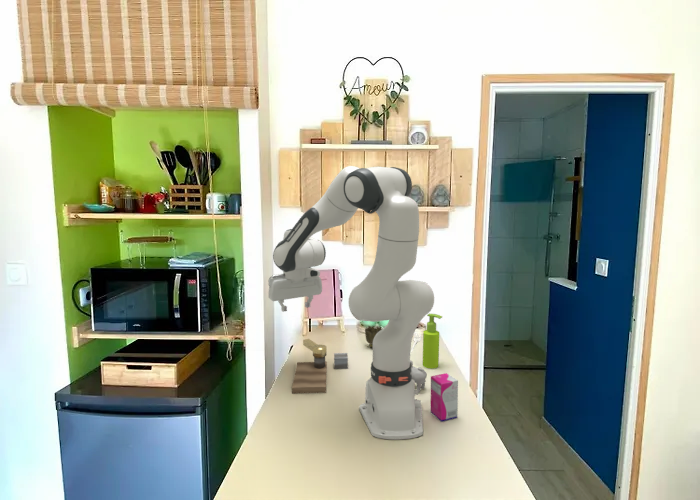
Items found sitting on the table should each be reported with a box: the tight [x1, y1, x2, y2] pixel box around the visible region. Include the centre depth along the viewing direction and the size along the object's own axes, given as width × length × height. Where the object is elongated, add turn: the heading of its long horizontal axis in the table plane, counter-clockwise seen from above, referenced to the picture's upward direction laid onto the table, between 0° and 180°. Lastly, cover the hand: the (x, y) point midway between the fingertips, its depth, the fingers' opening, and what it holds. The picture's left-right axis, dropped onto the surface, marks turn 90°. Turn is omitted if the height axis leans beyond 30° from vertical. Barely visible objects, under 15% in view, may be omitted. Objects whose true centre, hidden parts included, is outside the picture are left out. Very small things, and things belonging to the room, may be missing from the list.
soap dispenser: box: [422, 313, 443, 370], centre depth 150 cm, size 6×7×20 cm
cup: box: [364, 325, 383, 349], centre depth 169 cm, size 8×7×8 cm
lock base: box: [291, 352, 349, 394], centre depth 141 cm, size 23×19×6 cm
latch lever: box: [302, 338, 328, 358], centre depth 149 cm, size 14×5×3 cm, turn 33°
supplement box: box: [430, 372, 459, 423], centre depth 116 cm, size 6×6×12 cm
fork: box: [410, 333, 422, 354], centre depth 173 cm, size 3×20×2 cm, turn 161°
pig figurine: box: [410, 359, 428, 394], centre depth 134 cm, size 5×13×11 cm, turn 54°
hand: (296, 309), depth 148 cm, fingers open, 8 cm apart
